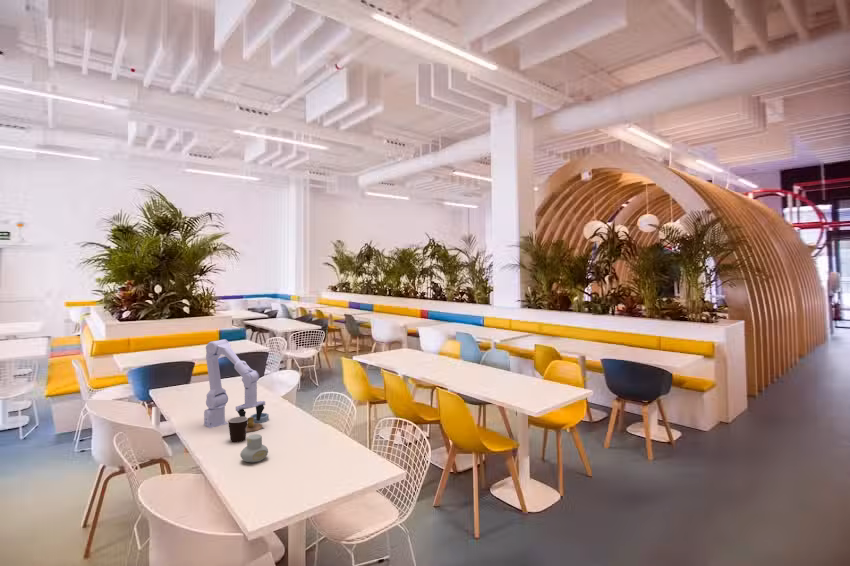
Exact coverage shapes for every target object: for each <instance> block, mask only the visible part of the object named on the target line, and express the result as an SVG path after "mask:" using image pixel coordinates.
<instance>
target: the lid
mask: <svg viewBox="0 0 850 566" xmlns="http://www.w3.org/2000/svg"><path fill="white" fill-rule="evenodd" d="M247 418H248V422H247V431H246V432H249V433H253V432H258V431H261V430H262V429H261V428H262V427H263V423H254V417H247ZM260 429H261V430H260Z"/></svg>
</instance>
